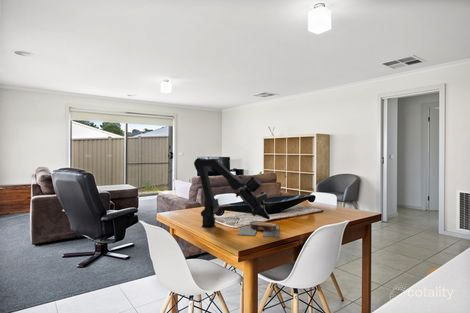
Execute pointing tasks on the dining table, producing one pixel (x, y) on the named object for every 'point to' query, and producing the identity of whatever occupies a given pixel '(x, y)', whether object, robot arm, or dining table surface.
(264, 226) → the tin
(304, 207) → the dining table surface
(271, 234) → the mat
